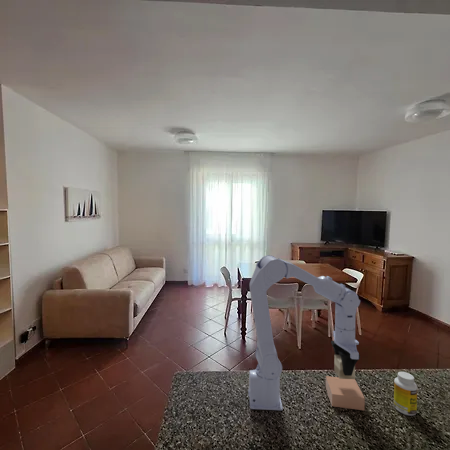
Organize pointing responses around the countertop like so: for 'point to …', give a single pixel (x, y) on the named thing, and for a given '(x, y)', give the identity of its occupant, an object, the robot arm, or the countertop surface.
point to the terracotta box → (344, 393)
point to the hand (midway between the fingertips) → (344, 370)
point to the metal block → (341, 368)
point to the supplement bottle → (405, 394)
